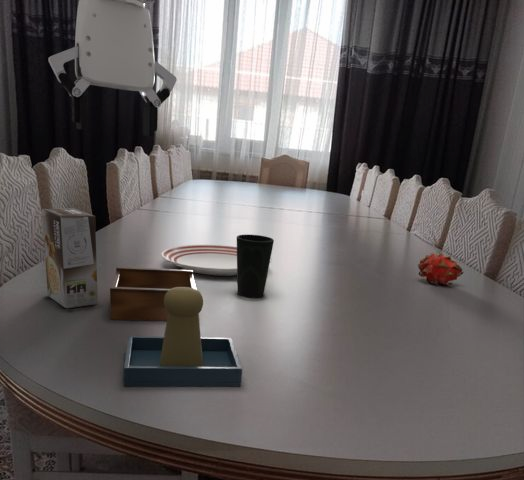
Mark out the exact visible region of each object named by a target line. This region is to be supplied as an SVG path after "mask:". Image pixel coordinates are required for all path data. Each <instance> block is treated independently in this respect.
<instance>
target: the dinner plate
mask: <svg viewBox="0 0 524 480" xmlns="http://www.w3.org/2000/svg"><path fill="white" fill-rule="evenodd" d="M160 256H161V258H162V259H163V260H165V261H167V262H168V263H170V264H172V265H175V266H176V267H179V268H181V269H183V270H193V273H196V274H199V275H208V276H219V277H220V276H221V277H222V276H223V277H225V276H227V277H228V276H229V277H231V276H237V246H235V245H223V244H186V245H178V246H173V247H169V248H167V249H164V250H163V251H161V253H160ZM271 263H272V257H271V258H270V263H269V264H271Z"/></svg>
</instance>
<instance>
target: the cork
mask: <svg viewBox="0 0 524 480" xmlns="http://www.w3.org/2000/svg"><path fill="white" fill-rule="evenodd" d="M164 305H165V308H166V310H167V311H168V316H167V321H165V322H166V323H165V330H164V335H163V337H164V341H163V347H162V353H161V359H160V366H165V367H203V358H202V347H201V337H202V335H201V327H200V325H201V324H200V315H199V314H200V313H201V312H202V310H203V306H204V297H203V295H202V292H200V290H198V289H197V288H196V289H194V288H189V287H175V288H172V289H170V290H168V291H167V293H166V295H165V298H164Z"/></svg>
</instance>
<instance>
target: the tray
mask: <svg viewBox="0 0 524 480" xmlns="http://www.w3.org/2000/svg"><path fill="white" fill-rule="evenodd" d="M163 341H164V336H154V335H153V336H151V335H150V336H149V335H128V336H127V343H126V351H125V358H124V365H123V386H124V387H242V377H243V367H242V364H241V362H240V358H239V355H238V353H237V350H236V347H235V344H234V341H233V338H232V337H208V336H207V337H202V336H201V347H202V358H203V367H165V366H160V359H161V353H162V347H163Z"/></svg>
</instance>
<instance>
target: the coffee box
mask: <svg viewBox="0 0 524 480" xmlns="http://www.w3.org/2000/svg"><path fill="white" fill-rule="evenodd" d="M41 219H42V232H43V233H42V235H43V246H44V247H43V249H44V263H45V274H46V288H47V289H46V290H47V296H48V297H49V298H51V299H52V300H53V301H55V302H56V303H57V304H59V305H60V306H62V307H63V308H65V309H72V308H80V307H86V306H95V305H98V303H99V301H98V297H99V294H98V266H97V265H98V264H97V262H98V261H97V234H96V232H97V231H96V229H97V228H96V215H93V214H90V213H88V212H85V211H82V210H79V209H77V208H73V207H72V208H71V207H69V208H68V207H63V208H62V207H61V208H60V207H59V208H56V207H55V208H41Z"/></svg>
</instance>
